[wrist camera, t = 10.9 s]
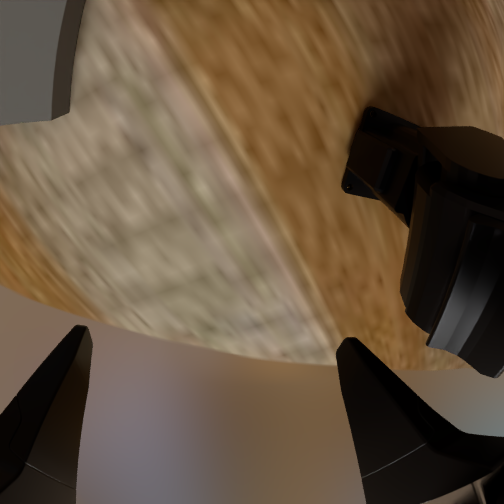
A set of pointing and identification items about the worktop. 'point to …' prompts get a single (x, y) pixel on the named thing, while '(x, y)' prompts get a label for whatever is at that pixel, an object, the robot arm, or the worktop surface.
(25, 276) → the worktop surface
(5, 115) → the slate stand
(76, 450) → the robot arm
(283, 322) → the worktop surface
